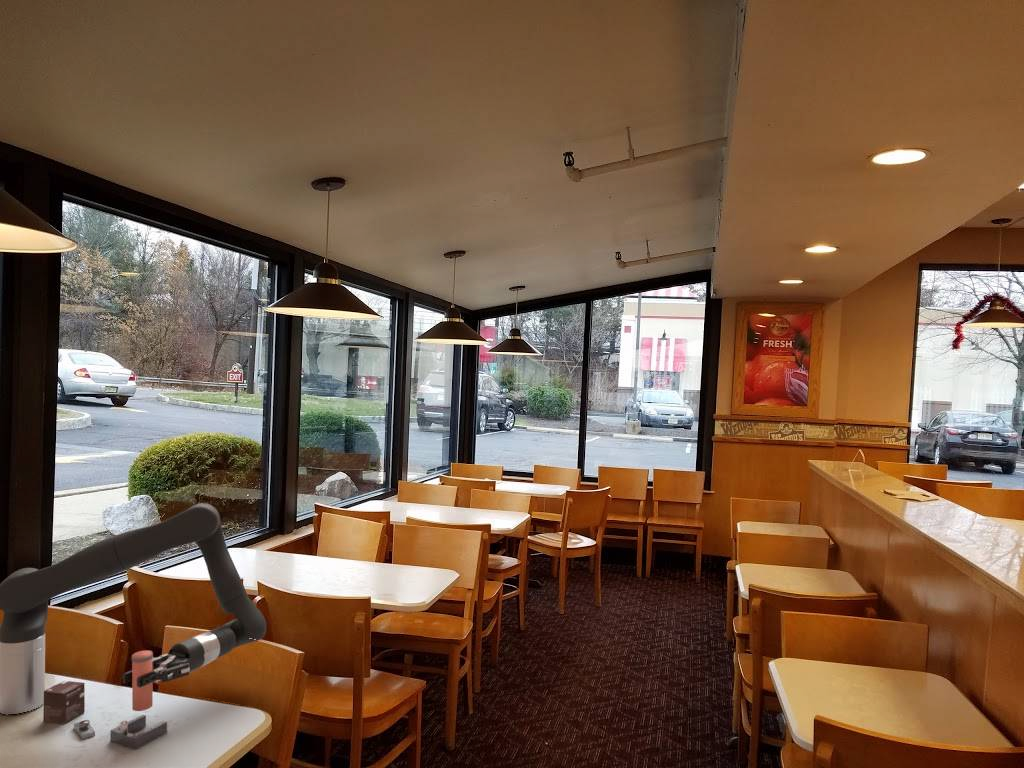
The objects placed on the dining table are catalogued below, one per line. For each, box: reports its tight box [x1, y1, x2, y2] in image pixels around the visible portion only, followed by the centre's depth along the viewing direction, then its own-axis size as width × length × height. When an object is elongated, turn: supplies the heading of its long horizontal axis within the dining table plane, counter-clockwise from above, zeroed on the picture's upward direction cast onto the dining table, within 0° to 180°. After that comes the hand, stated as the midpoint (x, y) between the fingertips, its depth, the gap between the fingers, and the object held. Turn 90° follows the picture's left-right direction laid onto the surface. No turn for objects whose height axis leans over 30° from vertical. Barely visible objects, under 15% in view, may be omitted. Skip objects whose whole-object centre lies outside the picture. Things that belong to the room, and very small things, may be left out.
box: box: [42, 680, 86, 725], centre depth 163 cm, size 6×6×7 cm
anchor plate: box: [73, 719, 96, 740], centre depth 156 cm, size 7×2×2 cm, turn 46°
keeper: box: [109, 714, 168, 751], centre depth 154 cm, size 8×8×5 cm
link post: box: [131, 650, 154, 712], centre depth 155 cm, size 4×4×12 cm
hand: (131, 680), depth 152 cm, fingers closed on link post, 4 cm apart
